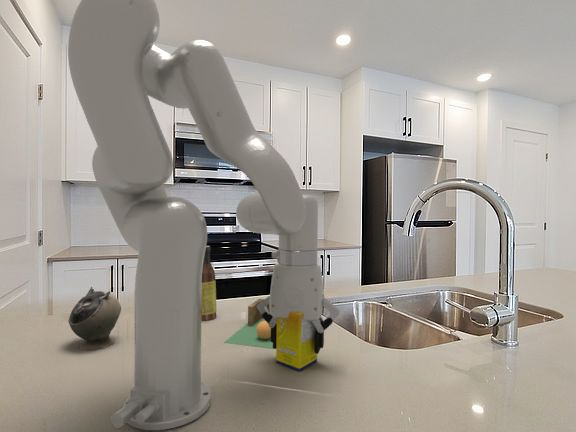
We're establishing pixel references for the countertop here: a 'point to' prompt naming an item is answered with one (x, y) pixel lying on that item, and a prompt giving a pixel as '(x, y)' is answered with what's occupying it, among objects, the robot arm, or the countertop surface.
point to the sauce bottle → (208, 289)
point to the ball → (263, 330)
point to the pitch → (249, 337)
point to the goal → (254, 313)
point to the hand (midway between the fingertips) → (296, 348)
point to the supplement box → (295, 342)
